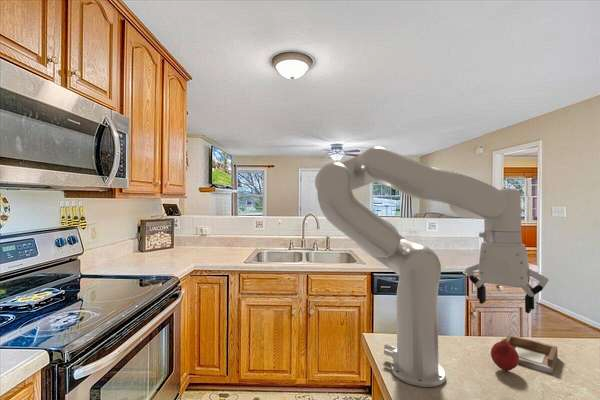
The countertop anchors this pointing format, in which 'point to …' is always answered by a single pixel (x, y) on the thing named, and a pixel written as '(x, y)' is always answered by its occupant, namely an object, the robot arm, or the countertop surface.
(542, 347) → the tray
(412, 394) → the countertop surface
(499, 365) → the onion
